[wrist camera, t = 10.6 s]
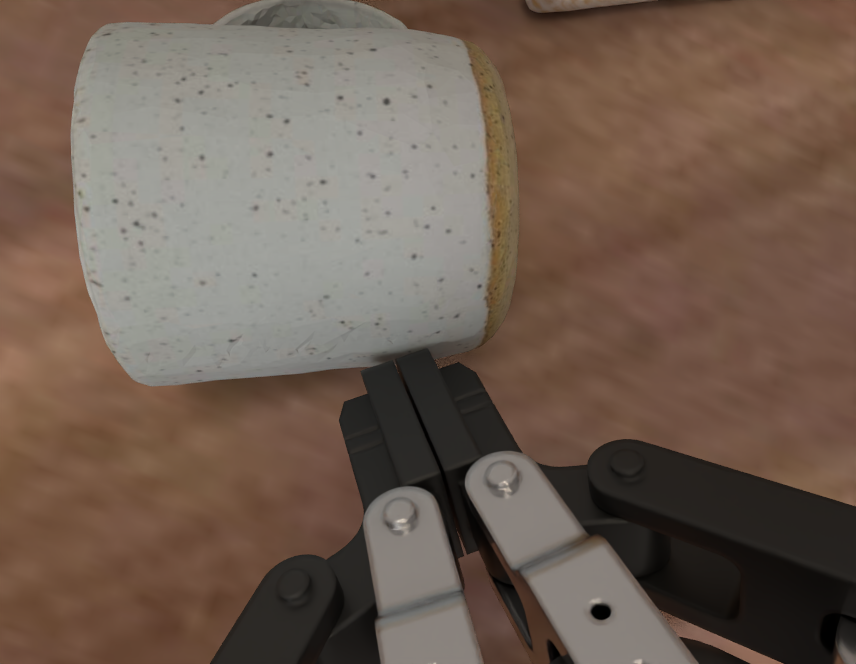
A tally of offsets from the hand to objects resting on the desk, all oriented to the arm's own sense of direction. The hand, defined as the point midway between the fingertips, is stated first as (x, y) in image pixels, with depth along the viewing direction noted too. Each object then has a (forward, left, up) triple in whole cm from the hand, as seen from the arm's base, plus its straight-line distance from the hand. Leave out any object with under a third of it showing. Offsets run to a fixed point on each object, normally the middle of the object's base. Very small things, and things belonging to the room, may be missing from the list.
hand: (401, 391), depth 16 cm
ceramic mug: (+4, +5, -4) cm, 7 cm away
